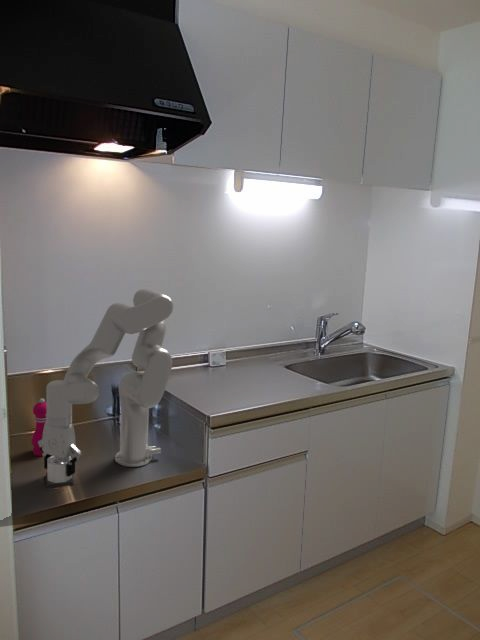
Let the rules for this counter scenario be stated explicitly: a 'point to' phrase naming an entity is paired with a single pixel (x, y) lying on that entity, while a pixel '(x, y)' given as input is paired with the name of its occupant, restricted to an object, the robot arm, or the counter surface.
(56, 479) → the white hollow octagonal tube
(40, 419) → the pepper mill
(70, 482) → the duct stub
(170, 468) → the counter surface
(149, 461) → the robot arm
